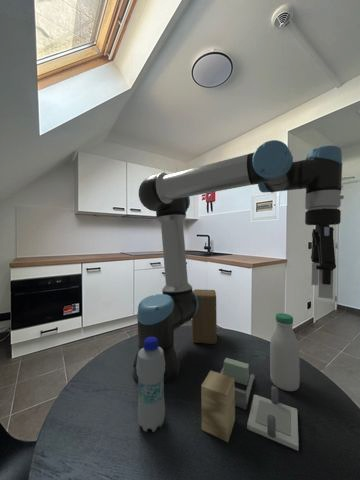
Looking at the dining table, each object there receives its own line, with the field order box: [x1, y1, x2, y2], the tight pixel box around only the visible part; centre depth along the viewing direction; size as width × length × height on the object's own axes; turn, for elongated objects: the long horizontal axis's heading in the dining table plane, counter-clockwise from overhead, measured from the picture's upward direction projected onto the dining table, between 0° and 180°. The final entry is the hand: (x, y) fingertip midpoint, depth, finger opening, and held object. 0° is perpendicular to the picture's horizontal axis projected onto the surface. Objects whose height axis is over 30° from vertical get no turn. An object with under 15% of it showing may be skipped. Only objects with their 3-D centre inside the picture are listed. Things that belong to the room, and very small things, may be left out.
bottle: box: [136, 337, 166, 433], centre depth 47 cm, size 7×7×20 cm
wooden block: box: [191, 288, 218, 345], centre depth 87 cm, size 10×10×20 cm
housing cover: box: [223, 357, 250, 386], centre depth 62 cm, size 7×3×5 cm, turn 61°
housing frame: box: [219, 365, 255, 411], centre depth 59 cm, size 10×13×4 cm
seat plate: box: [246, 385, 299, 452], centre depth 48 cm, size 10×11×4 cm
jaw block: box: [200, 370, 236, 443], centre depth 47 cm, size 6×6×10 cm
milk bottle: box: [269, 312, 301, 392], centre depth 60 cm, size 8×8×20 cm
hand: (320, 290), depth 53 cm, fingers open, 13 cm apart
